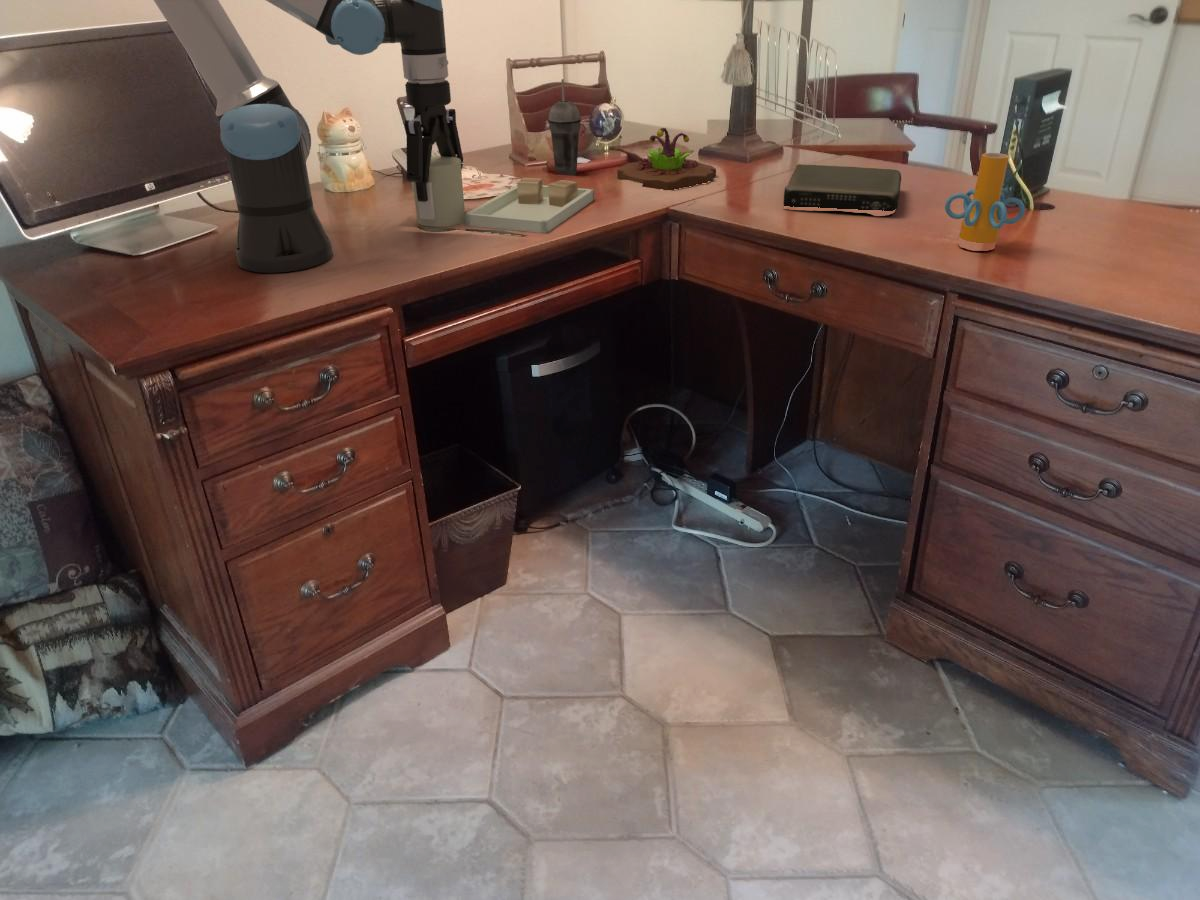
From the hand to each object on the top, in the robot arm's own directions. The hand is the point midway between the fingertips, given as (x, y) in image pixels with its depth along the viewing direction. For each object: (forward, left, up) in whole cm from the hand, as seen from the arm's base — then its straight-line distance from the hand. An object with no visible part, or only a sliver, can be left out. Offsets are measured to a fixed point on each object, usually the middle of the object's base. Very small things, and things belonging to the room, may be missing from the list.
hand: (440, 211), depth 161 cm
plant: (+47, -29, -3) cm, 56 cm away
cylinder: (+16, -93, -3) cm, 94 cm away
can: (0, 0, -3) cm, 3 cm away
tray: (+10, -14, -2) cm, 17 cm away
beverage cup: (+44, -7, -3) cm, 45 cm away
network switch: (+40, -68, -3) cm, 79 cm away
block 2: (+17, -17, -1) cm, 24 cm away
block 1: (+17, -10, -1) cm, 20 cm away
